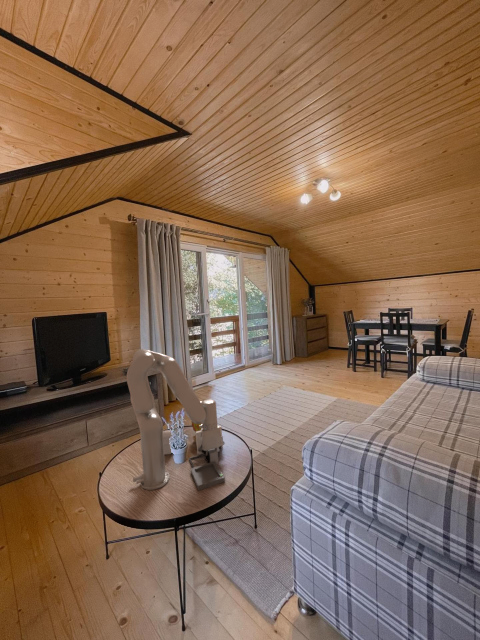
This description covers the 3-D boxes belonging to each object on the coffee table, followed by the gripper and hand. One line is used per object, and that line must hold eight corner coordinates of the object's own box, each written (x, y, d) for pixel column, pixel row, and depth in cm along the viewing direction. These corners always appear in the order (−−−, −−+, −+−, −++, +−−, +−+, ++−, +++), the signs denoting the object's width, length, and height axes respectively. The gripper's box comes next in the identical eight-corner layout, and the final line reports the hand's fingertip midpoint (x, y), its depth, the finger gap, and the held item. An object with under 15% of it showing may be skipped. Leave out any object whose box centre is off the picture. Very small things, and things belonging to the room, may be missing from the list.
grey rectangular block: (210, 465, 132) (209, 454, 132) (206, 458, 139) (205, 447, 138) (218, 463, 134) (217, 451, 134) (214, 456, 140) (213, 445, 140)
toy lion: (215, 444, 153) (214, 418, 152) (208, 448, 149) (206, 421, 148) (197, 436, 163) (195, 412, 162) (190, 440, 159) (188, 415, 158)
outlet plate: (200, 458, 139) (198, 436, 138) (197, 453, 144) (195, 431, 143) (225, 451, 145) (223, 429, 144) (221, 446, 150) (220, 425, 149)
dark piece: (194, 471, 128) (193, 464, 128) (188, 459, 139) (188, 452, 139) (225, 461, 135) (225, 454, 135) (218, 450, 145) (218, 444, 145)
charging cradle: (198, 490, 115) (198, 485, 115) (190, 472, 128) (190, 468, 128) (224, 481, 120) (224, 476, 120) (214, 465, 133) (214, 460, 132)
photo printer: (176, 449, 149) (174, 428, 149) (175, 453, 145) (173, 431, 144) (156, 452, 148) (155, 430, 147) (155, 456, 144) (153, 434, 143)
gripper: (195, 432, 128) (198, 469, 129) (228, 423, 135) (230, 459, 136) (191, 426, 135) (194, 461, 136) (223, 418, 142) (225, 451, 143)
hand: (212, 459), depth 136 cm, fingers closed on grey rectangular block, 4 cm apart
